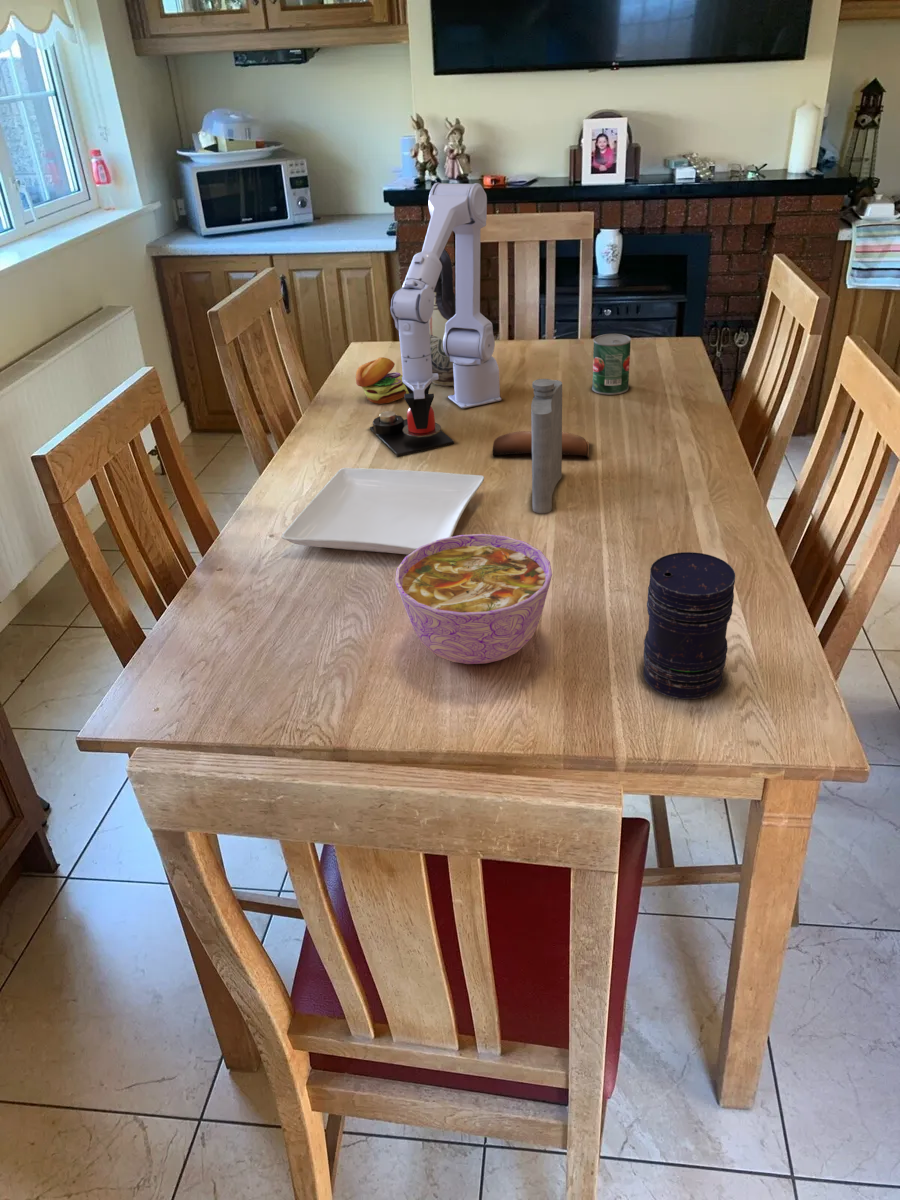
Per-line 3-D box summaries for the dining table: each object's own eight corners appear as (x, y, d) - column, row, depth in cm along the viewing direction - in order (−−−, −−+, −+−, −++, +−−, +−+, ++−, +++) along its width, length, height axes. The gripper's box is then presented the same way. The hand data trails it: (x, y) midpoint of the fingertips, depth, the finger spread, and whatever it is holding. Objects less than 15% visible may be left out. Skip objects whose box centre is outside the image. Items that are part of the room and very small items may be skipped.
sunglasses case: (590, 440, 177) (590, 418, 171) (588, 470, 174) (588, 449, 168) (497, 438, 180) (494, 417, 175) (494, 468, 177) (490, 447, 171)
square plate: (486, 492, 162) (486, 472, 160) (444, 571, 140) (443, 549, 138) (343, 482, 169) (340, 463, 166) (281, 556, 147) (277, 534, 144)
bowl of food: (371, 649, 123) (362, 576, 117) (475, 589, 135) (471, 519, 129) (479, 713, 111) (474, 634, 105) (583, 640, 122) (584, 566, 116)
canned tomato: (585, 387, 203) (586, 337, 198) (615, 380, 206) (617, 331, 200) (605, 397, 197) (606, 347, 191) (635, 390, 200) (638, 340, 194)
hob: (423, 418, 193) (422, 406, 192) (454, 443, 181) (453, 431, 179) (369, 429, 190) (368, 417, 188) (397, 456, 177) (395, 444, 176)
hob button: (392, 417, 188) (392, 409, 187) (398, 423, 186) (397, 414, 185) (378, 421, 187) (377, 412, 186) (383, 426, 185) (382, 417, 184)
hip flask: (550, 514, 153) (550, 399, 143) (526, 512, 154) (524, 398, 144) (562, 473, 166) (563, 365, 156) (540, 472, 167) (539, 365, 157)
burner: (432, 419, 187) (431, 418, 187) (446, 432, 181) (446, 430, 181) (397, 427, 184) (397, 425, 184) (411, 440, 178) (411, 438, 178)
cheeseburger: (410, 403, 200) (395, 361, 195) (364, 417, 202) (348, 375, 197) (412, 387, 209) (398, 345, 204) (368, 400, 211) (352, 359, 205)
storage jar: (711, 649, 119) (723, 549, 111) (733, 696, 111) (748, 592, 103) (634, 654, 119) (640, 554, 111) (651, 702, 111) (659, 598, 103)
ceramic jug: (408, 375, 217) (396, 242, 201) (470, 365, 220) (463, 233, 204) (428, 398, 203) (417, 257, 187) (494, 387, 207) (489, 247, 191)
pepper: (433, 421, 185) (431, 392, 182) (436, 431, 180) (434, 401, 177) (406, 424, 185) (404, 395, 181) (409, 434, 180) (407, 404, 177)
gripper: (438, 364, 168) (443, 433, 176) (435, 340, 181) (439, 406, 188) (400, 367, 168) (406, 436, 176) (399, 343, 180) (405, 409, 188)
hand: (421, 421), depth 182 cm, fingers open, 6 cm apart
